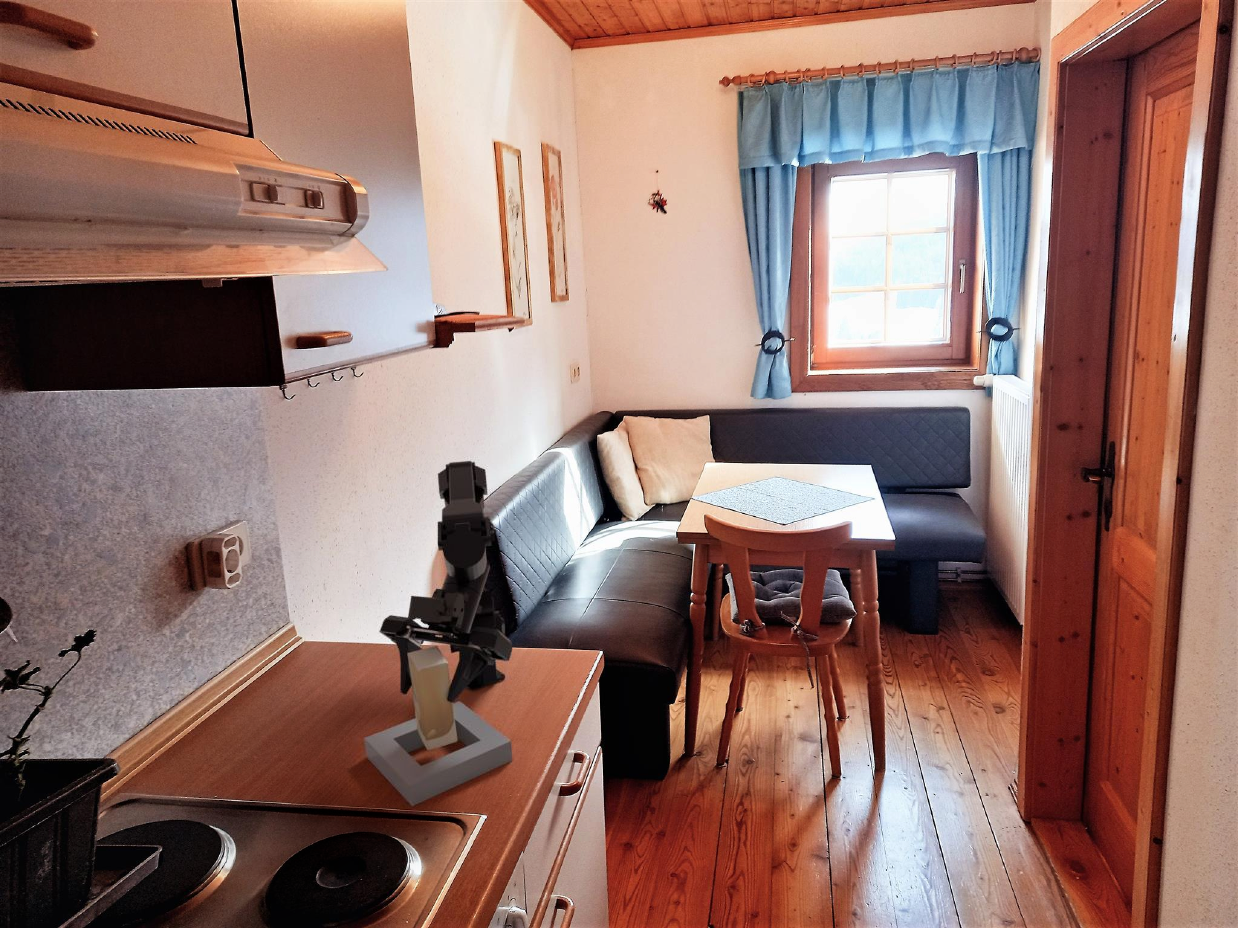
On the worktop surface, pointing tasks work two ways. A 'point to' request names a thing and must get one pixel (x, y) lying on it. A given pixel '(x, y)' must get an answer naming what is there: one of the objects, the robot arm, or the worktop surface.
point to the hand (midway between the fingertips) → (426, 697)
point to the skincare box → (432, 697)
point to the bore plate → (445, 772)
